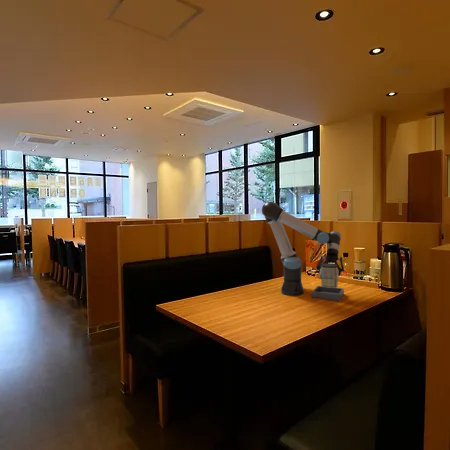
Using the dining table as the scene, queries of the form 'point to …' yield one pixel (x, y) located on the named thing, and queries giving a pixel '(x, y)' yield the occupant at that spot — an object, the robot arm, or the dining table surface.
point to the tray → (328, 293)
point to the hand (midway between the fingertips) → (328, 278)
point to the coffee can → (329, 275)
